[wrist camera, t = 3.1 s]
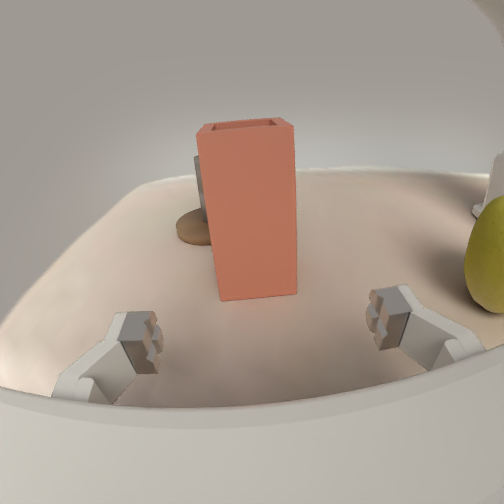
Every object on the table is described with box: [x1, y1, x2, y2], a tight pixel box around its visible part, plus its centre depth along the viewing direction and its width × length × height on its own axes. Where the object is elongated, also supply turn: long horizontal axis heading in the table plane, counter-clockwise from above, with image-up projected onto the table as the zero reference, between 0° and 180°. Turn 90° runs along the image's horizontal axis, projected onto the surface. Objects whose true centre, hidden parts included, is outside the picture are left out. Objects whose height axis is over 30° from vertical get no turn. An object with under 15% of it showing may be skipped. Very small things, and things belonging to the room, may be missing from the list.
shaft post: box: [176, 155, 212, 245], centre depth 32 cm, size 8×8×8 cm
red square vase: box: [196, 118, 297, 301], centre depth 22 cm, size 6×6×12 cm
